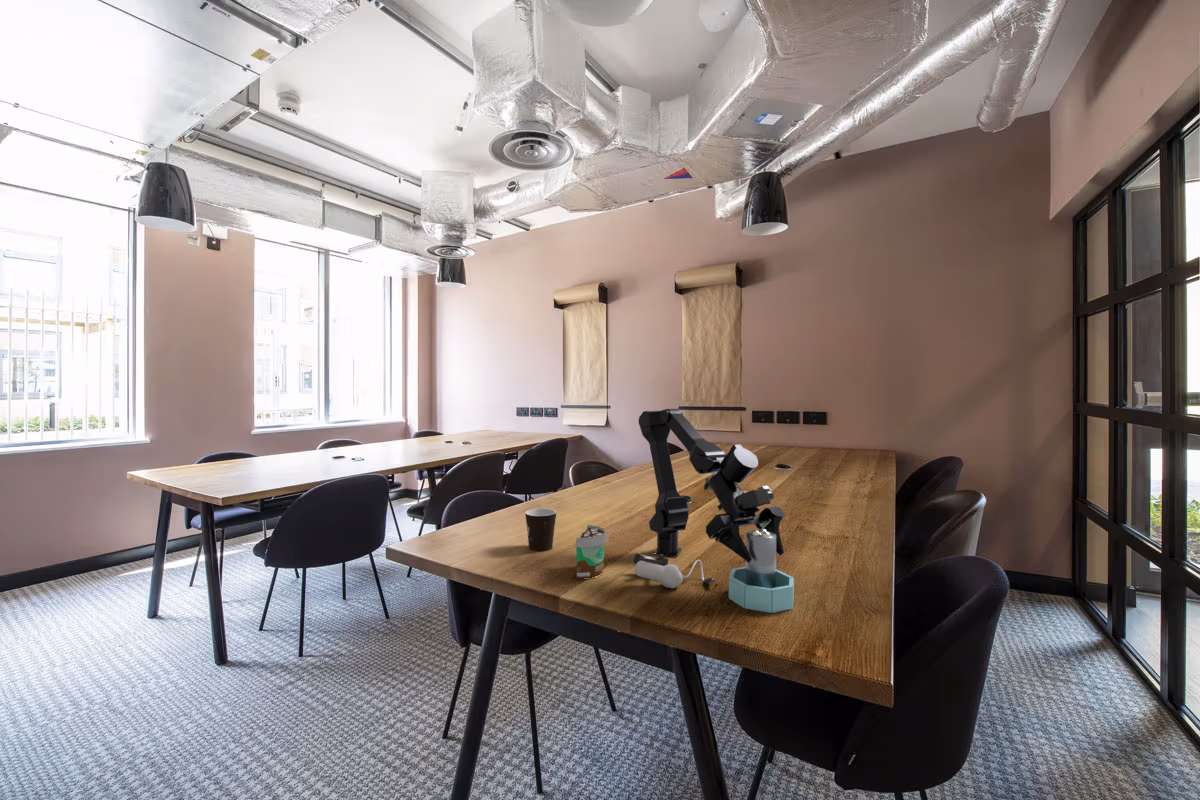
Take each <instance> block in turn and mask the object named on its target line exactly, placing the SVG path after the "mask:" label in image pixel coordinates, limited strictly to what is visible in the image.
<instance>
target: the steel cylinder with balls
mask: <svg viewBox="0 0 1200 800" xmlns="http://www.w3.org/2000/svg"><path fill="white" fill-rule="evenodd" d="M745 535H746V537H745V539H746V540H745V546H746V548H747V550H748V551H749V554H750V556H751V558H752V560H751V561H750V562H747V561H746V560H745V567H746V585H751V586H758V587H764V588H776V569H777V552H776V534H774V533H772V532H769V531H767V530H765V529H752V530H748V531H746V533H745Z"/></svg>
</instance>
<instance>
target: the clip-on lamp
mask: <svg viewBox="0 0 1200 800" xmlns="http://www.w3.org/2000/svg"><path fill="white" fill-rule="evenodd" d="M658 556H659V557H654V556H651V555H648V554H643V553H642V554H641V553H638V552H637V553H635V554H634V557H633V561H632V563H633V564H634V565H635V566H634V571H635V574H636V576H638V577H641V578H645V579H648V580H652V581H656V582H660V583H661V584H662V585H663V586H664V588H667V589H669V588H671V589H670V590H673V588H674V589H675V588H676V586H679V585H681V583H682V582H683V579H688V578H689V577H690V575H692V574H691V573H693V571H694V567H696V564H697V563H698V562H699V564H700V571H701V572H700V574H701V581H702V583H704V584H706V585H708V584H711V583H714V582H715V578H713V577H709V578H704V570H703V569H704V568H703V562H702V561H701V560H700V559H697V560H695V561H694V563H693V564H692V566H691V568H690V570H689V573H688V574H687V575H684V574H682V572H681V571H680V570H679V566H677V565H675V564H674V563H673V564H672V563H670V564H668V563H669V558H668V557H666V556H664V555H658Z"/></svg>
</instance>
